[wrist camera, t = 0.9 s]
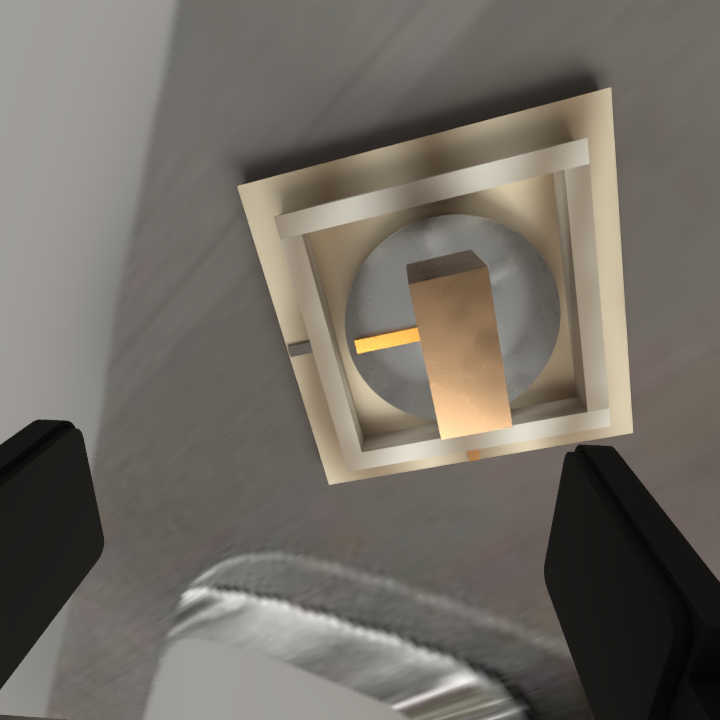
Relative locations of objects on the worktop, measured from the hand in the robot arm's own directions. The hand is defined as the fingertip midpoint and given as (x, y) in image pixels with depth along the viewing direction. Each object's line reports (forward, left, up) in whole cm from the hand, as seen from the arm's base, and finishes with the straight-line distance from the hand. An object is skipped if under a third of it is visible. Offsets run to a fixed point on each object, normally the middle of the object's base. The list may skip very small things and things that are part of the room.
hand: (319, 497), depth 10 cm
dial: (-4, +3, -21) cm, 21 cm away
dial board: (-4, +3, -22) cm, 23 cm away
